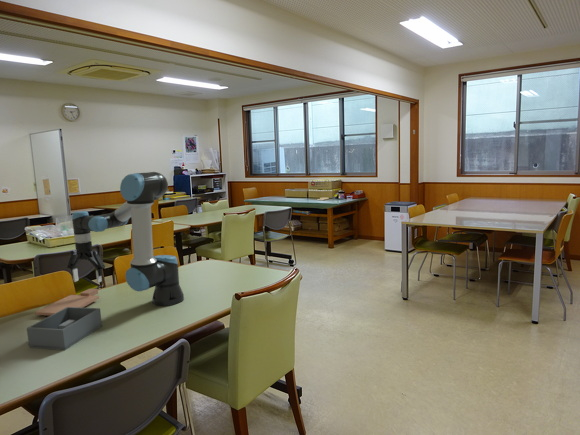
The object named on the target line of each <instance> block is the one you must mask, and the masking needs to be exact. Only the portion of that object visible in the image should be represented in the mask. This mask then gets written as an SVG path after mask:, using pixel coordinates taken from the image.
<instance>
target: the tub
mask: <svg viewBox="0 0 580 435" xmlns="http://www.w3.org/2000/svg"><path fill="white" fill-rule="evenodd" d="M101 314H102V313H101V308H100V307H99V308H98V307H95V308H94V307H84V308H80V307H66V308H64V309H62V310H61V311H59V312H57V313H55V314H53V315H51V316H47V317H46V318H43V319H42V320H39V321H37V322H35V323H33V324H32V325H29V326H28V327H26V332H27V340H28V347H29V348H31V349H42V350H44V349H47V350H59V351H66V350H68V349H70V347H72V346H74V345H76V344H77V343H79V342H80V341H81V340H84V338H86V337H87V336H89V335H91V334H92V333H93V332H95V331H97V330H98V329H100V328H102V326H103V322H102V315H101Z"/></svg>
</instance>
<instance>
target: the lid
mask: <svg viewBox="0 0 580 435" xmlns="http://www.w3.org/2000/svg"><path fill="white" fill-rule="evenodd" d="M97 294H99V289H98V288H88V289H86V290H84V291H81V292H80V294H69V295H68V296H65V297H64V298H61V299H58V300H56V301H54V302H52V303H51V304H48V305H46V306H44V307H42V308H41V309H37V310H36V311H34V315H38V316H39V315H41V316H42V315H43V316H47V317H49V316H51V315H53V314H55V313H57V312H59V311H61V310H62V309H64V308H66V307H80V308H86V307H88V306H89V305H91V304H93V303H94V302H95V301H97V300H99V299H100V295H97Z"/></svg>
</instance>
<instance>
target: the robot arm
mask: <svg viewBox="0 0 580 435" xmlns="http://www.w3.org/2000/svg"><path fill="white" fill-rule="evenodd" d="M119 188H120V189H119V190H120V196H121V197H122V198H123V199H124V200H125V202H124V203H122V204H121V205H120V206H119V207H117V208H116V209H115V210H114V211H112V212H111V213H110V212H109V213H105V214H104V213H103V214H98V215H90V214H89V212H88V211H87V210H79V211H78V210H77V211H74V212H72V213H71V218H72V219H71V222H72V229H73V235H74V242H75V243H74V246H75V249H74V250H70V258H69V261H68V264H67V269H70V270H71V275H72V278H73V282H74V283H76V282H78V281H79V273H78V272H79V270H78V268H77V266H78V265H79V263H80V262H81V260H85V261H86V260H87V261H89V262H90V263H91V265H92V266H93V267H94V268H95V269H96V270H95V276H96V283H99V284H100V283H101V282H102V281H103V280H102V279H103V278H102V276H103V269H105V268H106V265H105V264H104V262H103V260H102V258H101V256H100V254H99V251H98V250H97V249H96V250H93V249H92V248H93V244H92V241H91V240H92V236H91V235H92V234H91V232H95V233H99V232H104V231H106V230H109V229H114V228H118V227H119V228H120V227H123V226H126V225H127V224H128V222H129V220H130V219H131V234H132V250H133V253H132V254H133V255H132V256H133V258H132V259H131V260H130V267H129V268H128V269H127V270H126V271H125V273H124V274H125V281H126V283H127V284H128V287H130V289H131V290H133V291H135V292H143V291H148V290H150V289H152V288H153V287H154V292H153V294H152V298H151V299H152V304H153V305H154V306H158V307H159V306H162V307H163V306H164V307H165V306H173V305H177V304H179V303H182V302H183V301H184V299H185V295H184V292H183V289H182V287H181V285H180V279H179V278H180V277H179V275H180V274H179V263H178V258H177V256H176V255H171V254H158V255H154V246H153V245H154V244H153V225H152V224H153V223H152V221H153V220H152V206H153V205H154V204H155V201H157V200H159V199H160V198H161V197H163V196H164V195H165V194H166V193H167V192H168V188H169V182H168V180H167V178H166V177H165V176H164V174H162V173H160V172H156V171H150V172H149V171H147V172H134V173H129V174H127V175H125V176H124V177H123V178H122V180H121V182H120V186H119Z"/></svg>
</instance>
